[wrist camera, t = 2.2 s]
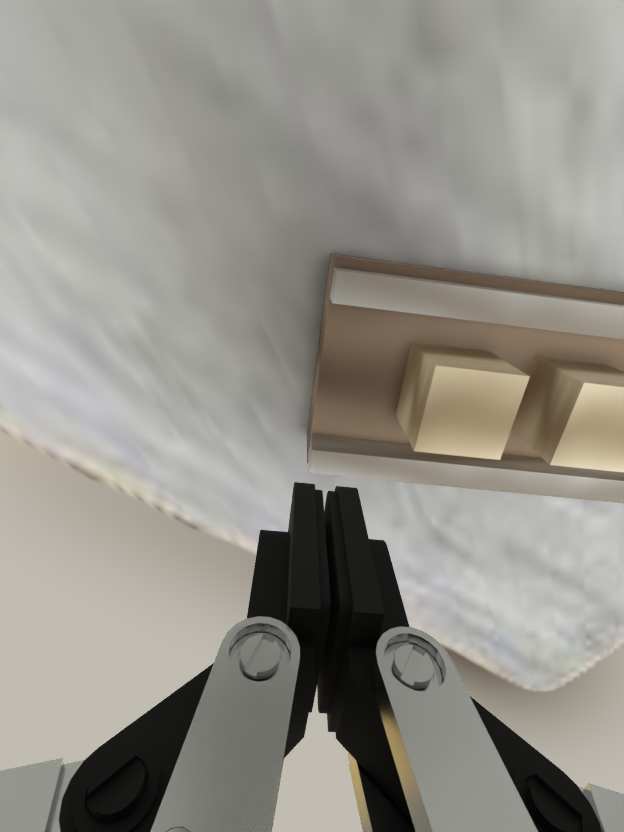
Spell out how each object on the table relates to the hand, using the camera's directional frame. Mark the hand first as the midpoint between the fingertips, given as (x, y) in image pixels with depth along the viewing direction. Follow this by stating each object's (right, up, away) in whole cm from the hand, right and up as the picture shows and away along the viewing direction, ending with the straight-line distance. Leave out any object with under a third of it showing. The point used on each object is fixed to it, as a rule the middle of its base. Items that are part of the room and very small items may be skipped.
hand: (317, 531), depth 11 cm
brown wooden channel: (+11, +6, +16) cm, 21 cm away
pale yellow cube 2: (+14, +4, +13) cm, 20 cm away
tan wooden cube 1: (+7, +5, +12) cm, 15 cm away
